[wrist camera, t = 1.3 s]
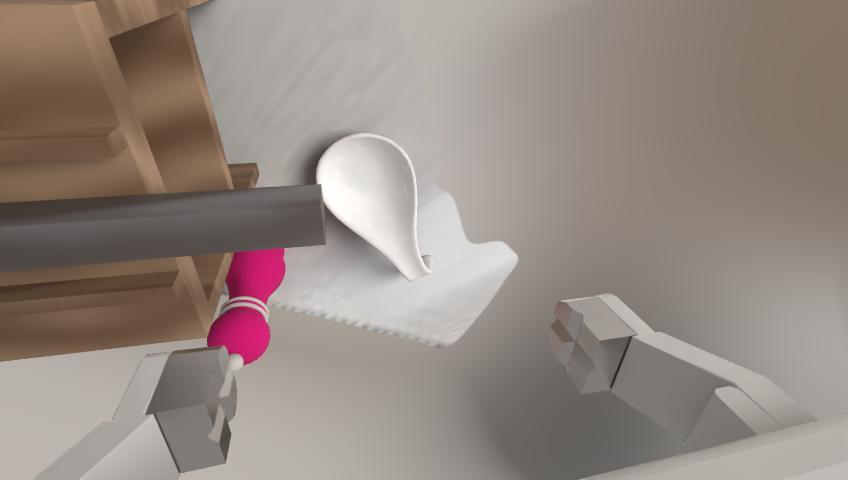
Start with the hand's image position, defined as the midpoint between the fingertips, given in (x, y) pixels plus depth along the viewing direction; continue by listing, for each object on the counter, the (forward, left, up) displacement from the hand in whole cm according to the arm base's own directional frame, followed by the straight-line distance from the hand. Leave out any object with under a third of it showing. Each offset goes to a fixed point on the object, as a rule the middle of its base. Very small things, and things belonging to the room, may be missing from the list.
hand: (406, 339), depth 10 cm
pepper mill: (+25, -14, -41) cm, 50 cm away
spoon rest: (+20, +4, -41) cm, 46 cm away
